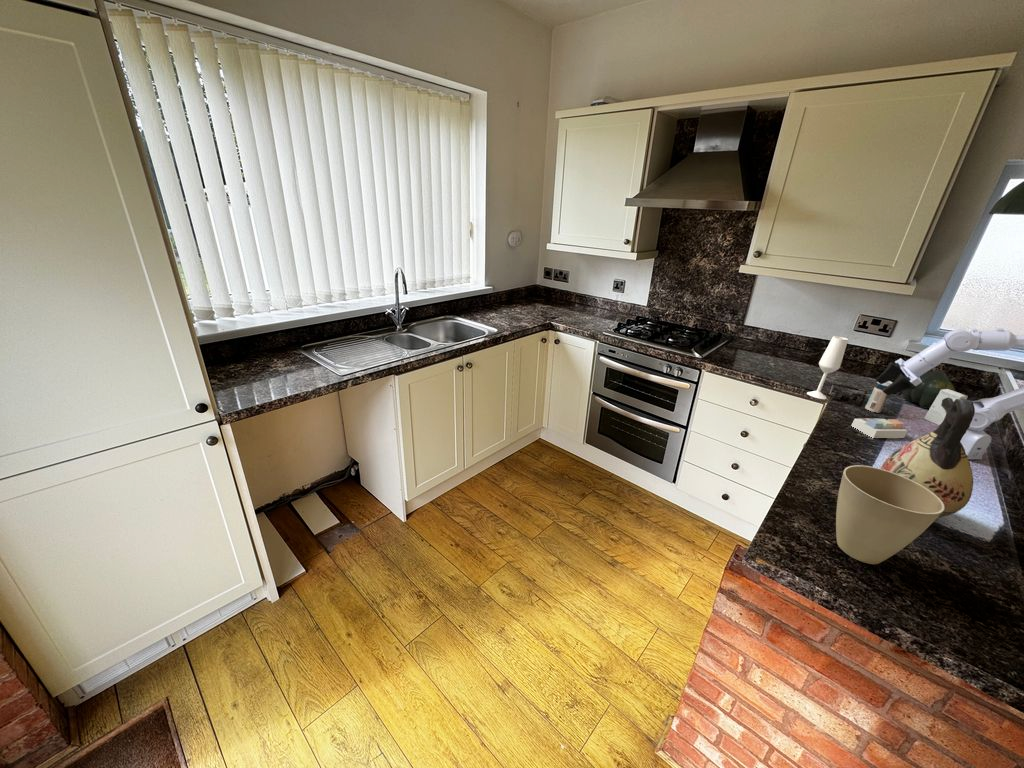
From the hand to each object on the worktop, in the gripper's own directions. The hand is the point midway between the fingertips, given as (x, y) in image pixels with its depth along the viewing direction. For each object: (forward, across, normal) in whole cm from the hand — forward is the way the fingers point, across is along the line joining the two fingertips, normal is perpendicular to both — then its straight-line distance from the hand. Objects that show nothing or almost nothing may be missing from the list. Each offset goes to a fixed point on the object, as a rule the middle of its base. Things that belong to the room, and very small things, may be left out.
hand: (881, 387), depth 137 cm
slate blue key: (+9, +10, +4) cm, 14 cm away
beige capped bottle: (+11, -14, +15) cm, 23 cm away
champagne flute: (+20, -19, 0) cm, 28 cm away
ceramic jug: (+8, +55, -3) cm, 56 cm away
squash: (+3, -35, +36) cm, 50 cm away
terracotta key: (+7, +6, +11) cm, 14 cm away
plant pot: (+13, +77, -19) cm, 81 cm away
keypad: (+10, +7, +8) cm, 15 cm away
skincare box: (+1, -16, +32) cm, 36 cm away
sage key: (+8, +8, +7) cm, 13 cm away
